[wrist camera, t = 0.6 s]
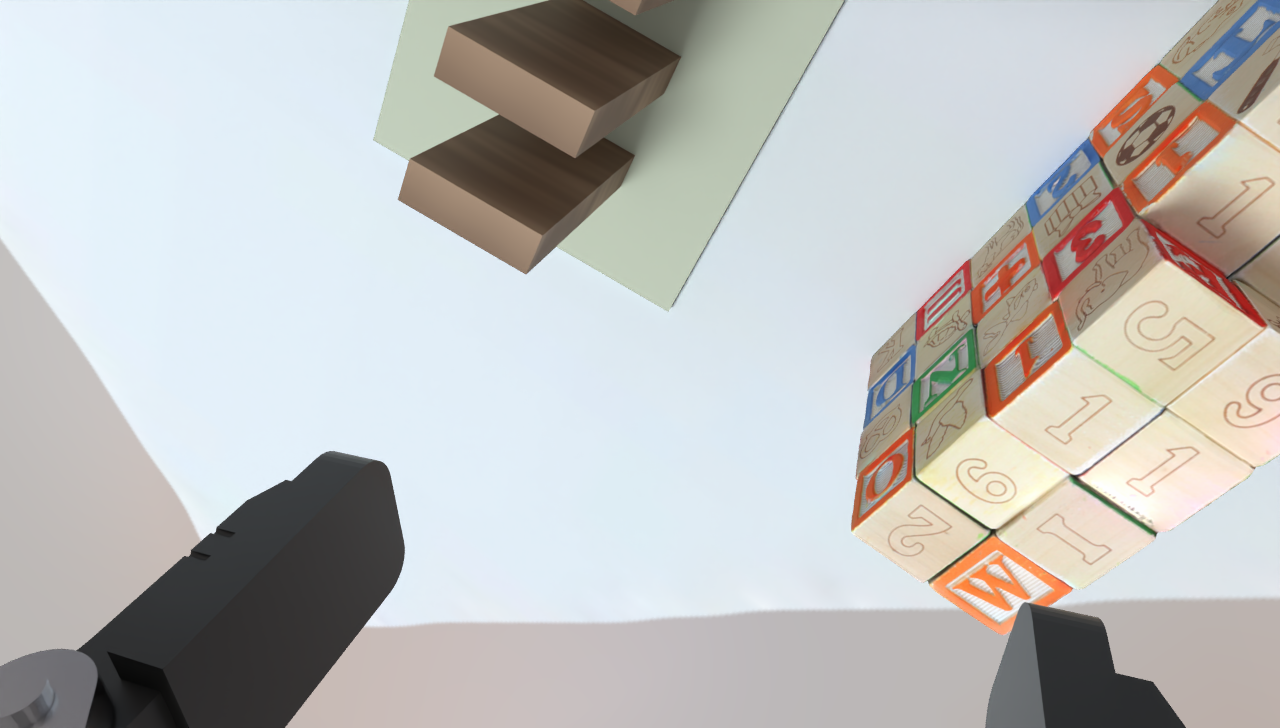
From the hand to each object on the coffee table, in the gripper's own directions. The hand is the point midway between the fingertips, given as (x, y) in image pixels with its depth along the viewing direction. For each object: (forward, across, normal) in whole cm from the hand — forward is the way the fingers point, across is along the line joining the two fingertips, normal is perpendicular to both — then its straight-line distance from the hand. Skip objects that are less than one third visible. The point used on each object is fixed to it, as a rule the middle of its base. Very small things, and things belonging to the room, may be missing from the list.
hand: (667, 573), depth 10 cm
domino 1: (+25, +9, -2) cm, 27 cm away
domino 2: (+25, +11, +2) cm, 28 cm away
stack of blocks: (+26, -10, +3) cm, 28 cm away
